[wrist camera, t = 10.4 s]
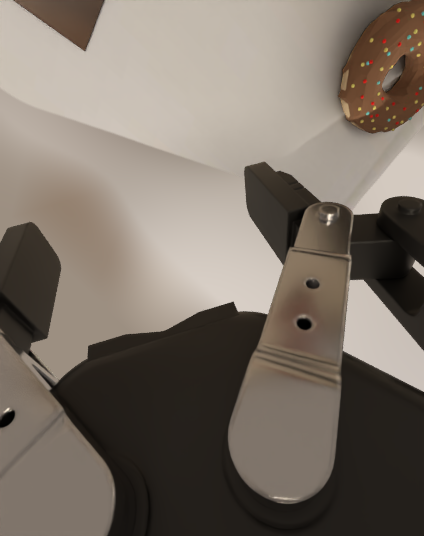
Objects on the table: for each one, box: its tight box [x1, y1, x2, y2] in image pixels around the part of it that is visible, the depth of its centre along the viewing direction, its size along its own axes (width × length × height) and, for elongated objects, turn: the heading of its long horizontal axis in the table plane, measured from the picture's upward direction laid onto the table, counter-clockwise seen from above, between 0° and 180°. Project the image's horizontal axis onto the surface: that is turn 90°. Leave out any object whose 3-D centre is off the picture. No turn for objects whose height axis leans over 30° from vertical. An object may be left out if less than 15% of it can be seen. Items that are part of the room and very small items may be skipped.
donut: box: [338, 0, 424, 133], centre depth 35 cm, size 14×14×5 cm
